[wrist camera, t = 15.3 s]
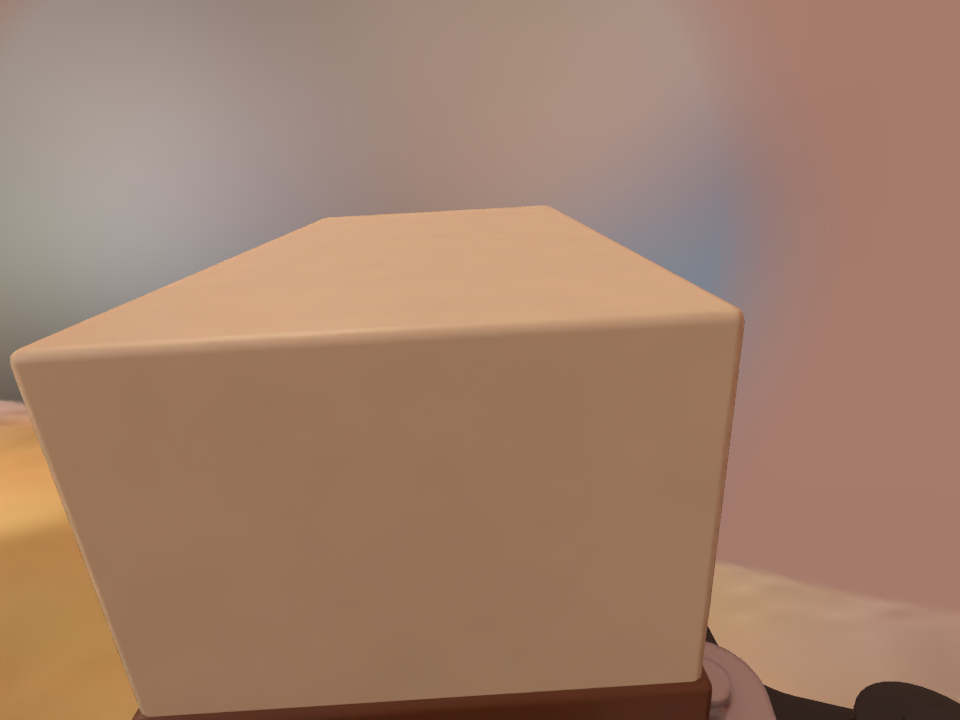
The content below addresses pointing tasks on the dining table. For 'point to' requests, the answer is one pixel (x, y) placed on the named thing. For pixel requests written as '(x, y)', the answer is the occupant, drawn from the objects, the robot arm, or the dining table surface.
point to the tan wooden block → (402, 474)
